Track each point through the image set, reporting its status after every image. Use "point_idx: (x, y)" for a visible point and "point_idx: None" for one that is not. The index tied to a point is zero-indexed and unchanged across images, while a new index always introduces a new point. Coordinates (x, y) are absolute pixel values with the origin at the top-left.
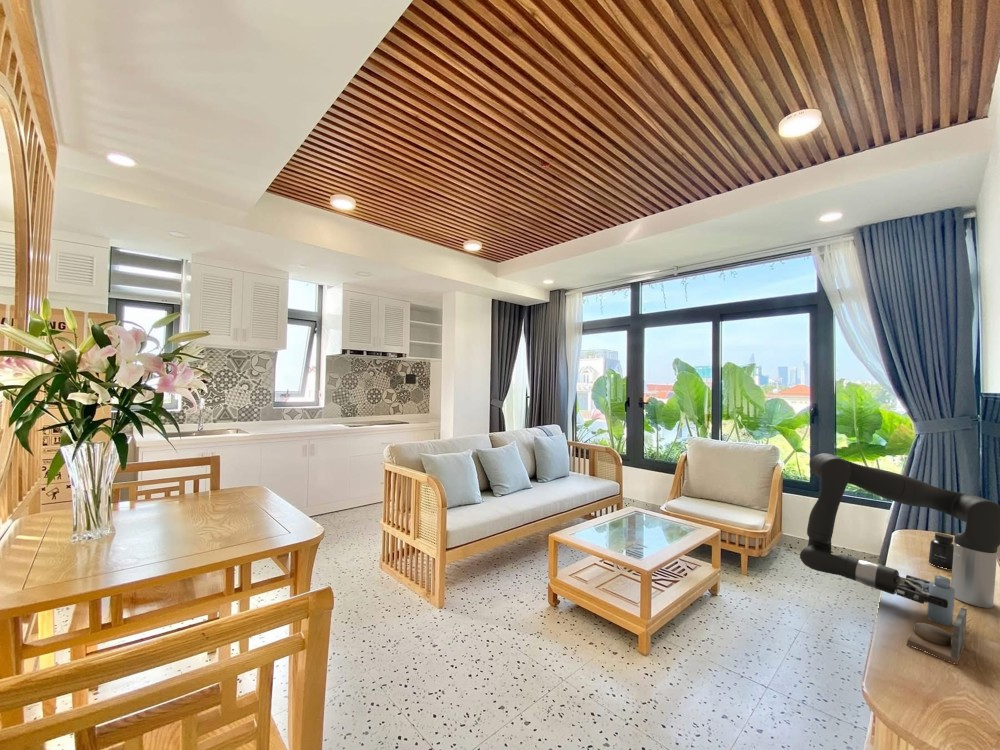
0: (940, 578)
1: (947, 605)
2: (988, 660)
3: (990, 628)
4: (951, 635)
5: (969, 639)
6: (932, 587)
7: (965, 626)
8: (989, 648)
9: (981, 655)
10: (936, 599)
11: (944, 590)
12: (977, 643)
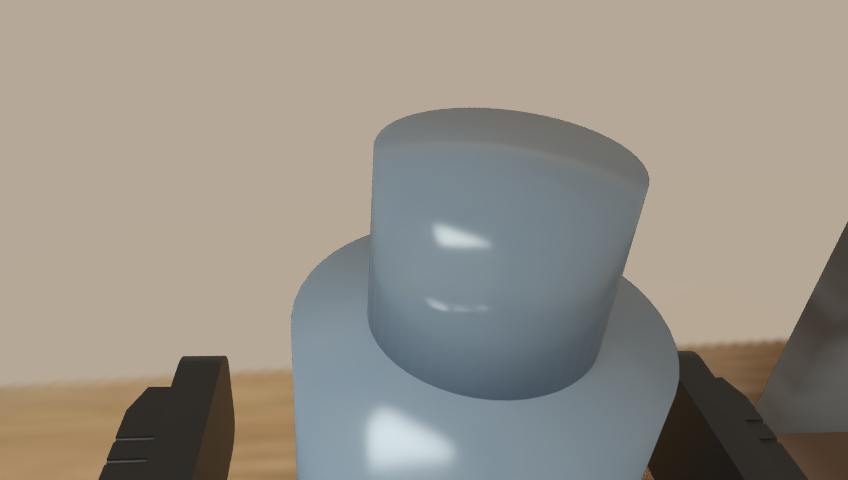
0: (592, 166)
1: None
2: (767, 349)
3: None
4: (827, 469)
5: None
6: (659, 433)
7: (801, 323)
8: None
9: (753, 372)
10: (777, 445)
11: (628, 290)
12: None
